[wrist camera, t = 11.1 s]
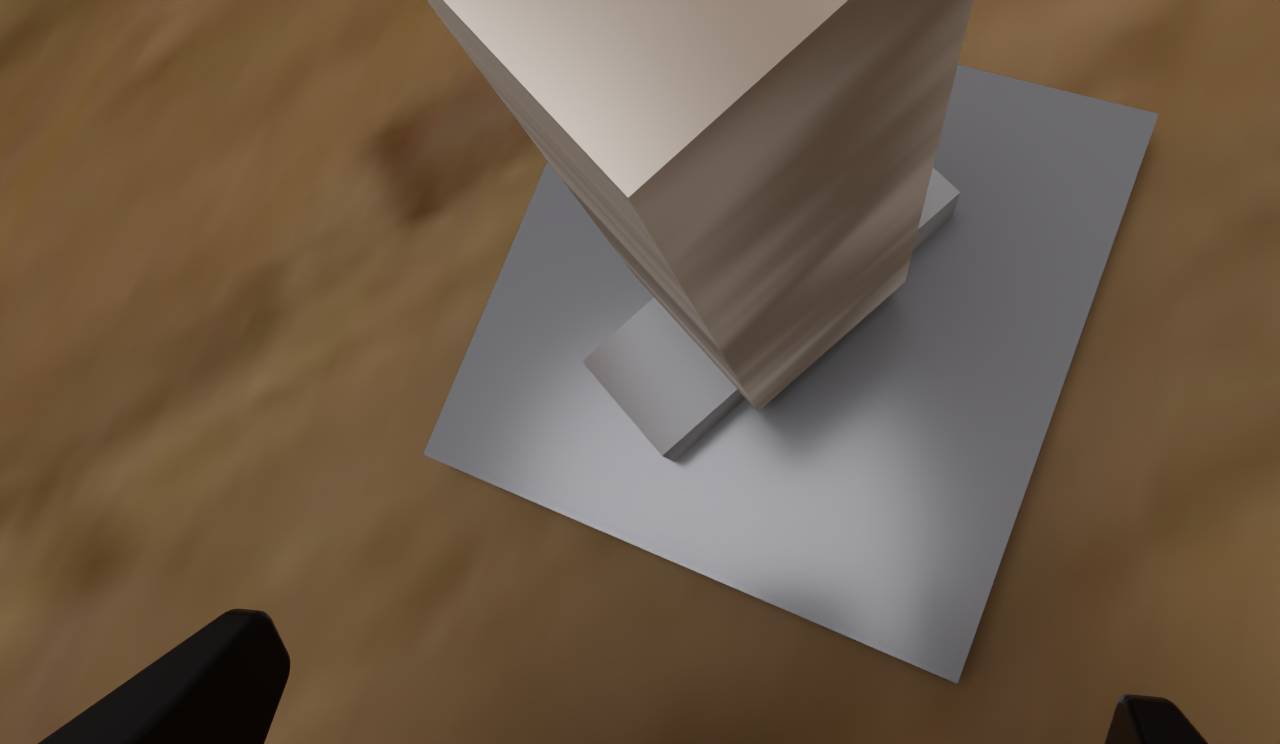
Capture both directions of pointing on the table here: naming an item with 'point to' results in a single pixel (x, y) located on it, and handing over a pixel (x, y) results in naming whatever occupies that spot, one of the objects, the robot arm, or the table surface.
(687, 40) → the upright block on base
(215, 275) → the table surface
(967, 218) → the slate plate
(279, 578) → the table surface
